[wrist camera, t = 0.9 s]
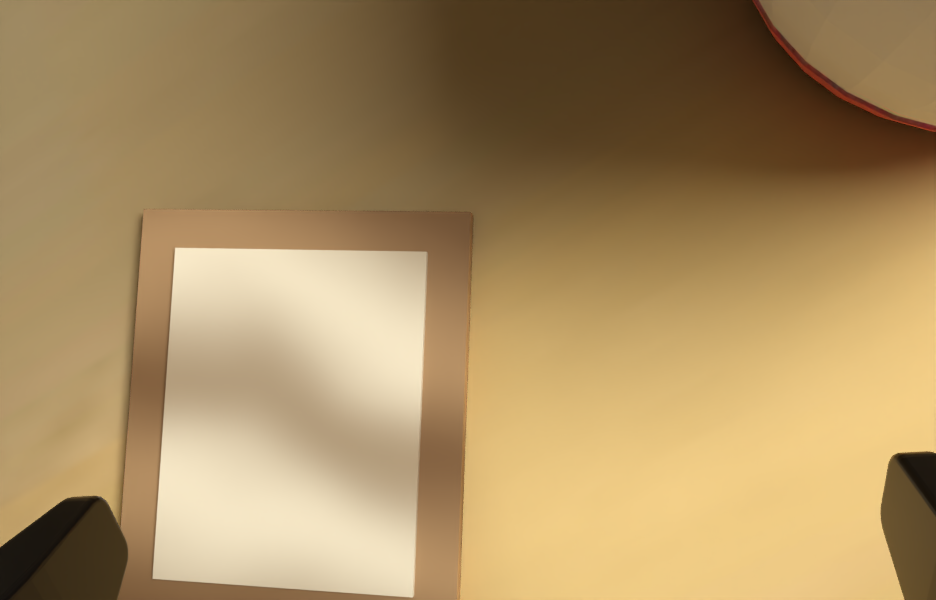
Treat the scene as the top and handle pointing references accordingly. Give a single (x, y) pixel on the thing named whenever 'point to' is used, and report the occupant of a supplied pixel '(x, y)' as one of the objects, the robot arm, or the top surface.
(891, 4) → the citrus juicer
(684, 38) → the top surface
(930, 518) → the robot arm
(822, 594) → the top surface
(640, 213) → the top surface
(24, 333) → the top surface
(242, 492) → the brown picture frame
